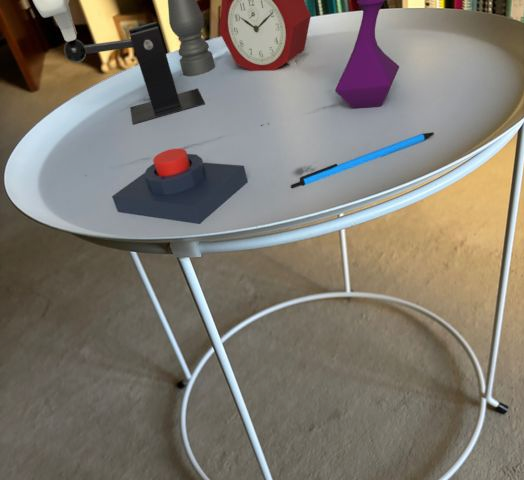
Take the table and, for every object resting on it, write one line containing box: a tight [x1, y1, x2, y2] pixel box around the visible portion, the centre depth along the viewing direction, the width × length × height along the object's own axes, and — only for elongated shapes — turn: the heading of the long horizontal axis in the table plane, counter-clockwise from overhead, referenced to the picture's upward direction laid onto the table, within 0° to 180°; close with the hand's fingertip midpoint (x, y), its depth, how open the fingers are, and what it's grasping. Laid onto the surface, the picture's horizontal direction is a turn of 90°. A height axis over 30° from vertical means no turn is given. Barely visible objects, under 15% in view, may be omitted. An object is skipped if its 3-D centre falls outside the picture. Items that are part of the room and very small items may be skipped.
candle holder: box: [167, 0, 216, 77], centre depth 103 cm, size 6×6×25 cm
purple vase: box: [334, 0, 400, 109], centre depth 78 cm, size 8×8×18 cm
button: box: [152, 148, 190, 176], centre depth 69 cm, size 4×4×2 cm
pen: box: [290, 131, 436, 189], centre depth 69 cm, size 1×19×1 cm, turn 112°
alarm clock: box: [218, 0, 312, 72], centre depth 98 cm, size 15×9×20 cm, turn 58°
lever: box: [63, 38, 134, 64], centre depth 90 cm, size 14×3×3 cm, turn 103°
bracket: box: [128, 21, 206, 126], centre depth 94 cm, size 12×9×13 cm
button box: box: [111, 153, 249, 225], centre depth 71 cm, size 13×10×4 cm
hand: (71, 38), depth 89 cm, fingers closed, pressing on lever
